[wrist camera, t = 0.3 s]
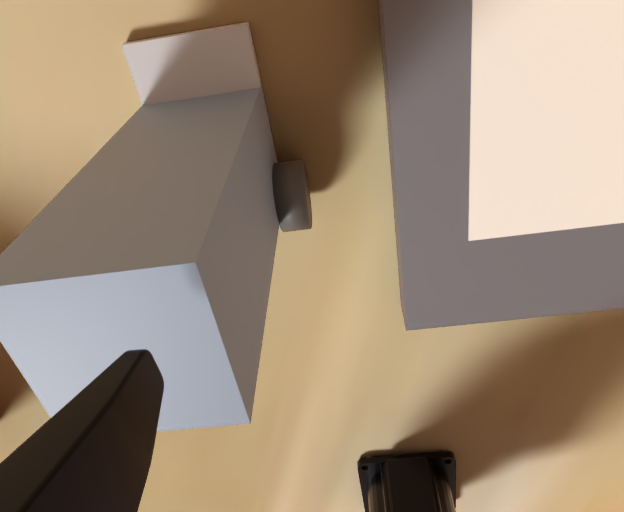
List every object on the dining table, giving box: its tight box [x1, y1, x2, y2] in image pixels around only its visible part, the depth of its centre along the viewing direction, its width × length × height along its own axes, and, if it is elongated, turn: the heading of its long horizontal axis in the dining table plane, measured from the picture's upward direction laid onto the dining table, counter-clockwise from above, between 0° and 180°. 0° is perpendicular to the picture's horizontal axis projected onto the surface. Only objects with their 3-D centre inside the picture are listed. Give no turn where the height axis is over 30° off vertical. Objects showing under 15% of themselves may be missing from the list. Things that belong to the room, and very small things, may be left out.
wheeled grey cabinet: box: [0, 22, 312, 432], centre depth 17 cm, size 8×7×13 cm
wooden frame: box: [378, 0, 624, 331], centre depth 20 cm, size 18×14×4 cm
